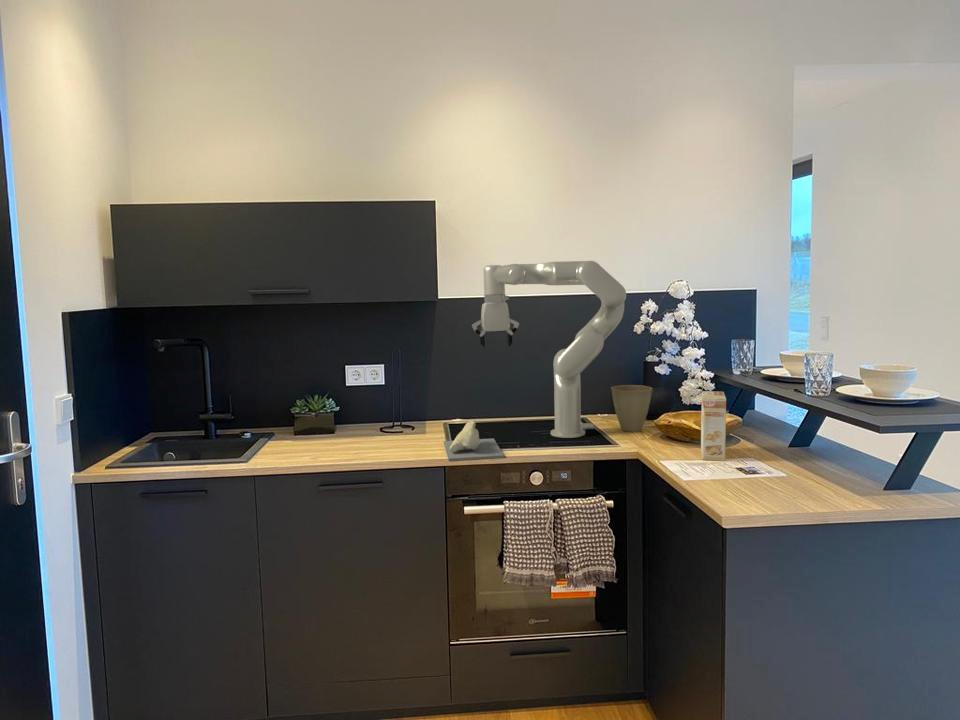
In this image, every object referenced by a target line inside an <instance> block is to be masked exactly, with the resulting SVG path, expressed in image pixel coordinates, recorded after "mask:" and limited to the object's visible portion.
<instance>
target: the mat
mask: <svg viewBox="0 0 960 720" xmlns="http://www.w3.org/2000/svg"><path fill="white" fill-rule="evenodd" d="M479 440H480V442H479V446H478V447H477V448H476V449H475V450H461V451H457V452H455V453H453V452H451V451H450V446H451V444H452V443H453V441H454V440H444V441H443V446H444V448H445V453H446V455H447V456H446V457H447V460H448V461H449V462H453V461H455V462H456V461H457V462H458V461H471V460H473V461H474V460H487V459H488V460H489V459H491V460H493V459H504V458H505V455H504V453H503V451H502V449H501V448H500V446H499V445H498V443H497V442H496V440H495V438H479Z"/></svg>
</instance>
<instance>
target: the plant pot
mask: <svg viewBox="0 0 960 720" xmlns="http://www.w3.org/2000/svg"><path fill="white" fill-rule="evenodd" d="M610 388H611V395H612V401H613V406H614V409H615V410H614V412H615V415H616V419H617V421H618V424H619V426H620V429H621V430H622V431H623V432H629V433H634V432H635V433H637V432H640V431H642V429H643V427H644V424H645V421H646V419H647V415H648V412H649V409H650V404H651V398H652V393H653V387H651V386H647V385H641V384H640V385H638V384H627V385H626V384H625V385H624V384H623V385H622V384H621V385H615V386H611V387H610Z"/></svg>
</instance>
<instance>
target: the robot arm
mask: <svg viewBox="0 0 960 720" xmlns="http://www.w3.org/2000/svg"><path fill="white" fill-rule="evenodd" d="M505 285H512V286H517V285H546V286H585V287H586V288H588V290H590V291H591V292H592V293H593V294H594V295H595V296H596V297H597V298H599V300H600V302H601V305H600V307H599V310H598V311H597V312H596V313H595V315H594V316H593V317H592V318H591V319H590V320H589V321H588V322H587V323H586V324H585V326H584V327H582V328H581V329H580V330H579V331H578V332H577V333H576V334H575V337H574V340H573V341H572V342H571V343H570V344H569V345H568V346H567V348H562V349H560V350H558V351H557V353H556V354H555V355H554V358H553V382H554V383H553V385H554V387H553V388H554V393H553V396H554V397H553V398H554V403H553V404H554V429H551V430H550V436H552V437H555V438H562V439H573V438H580V437H583V436H586V431H585V430H593V429H595V425H594V423H589V422H585V423H583V421H582V419H581V415H582V413H581V411H582V409H581V394H582V393H581V392H582V391H581V387H582V386H581V373H582V372H583V371H584V370H585V369H586V368H587V367H588V366H589V365H590V364H591V362H593V360H595V359H596V357H598V356H599V354H600V353H601V352H602V349H603V348H604V343H605V340H606V339H607V338H608V337H609V336H610V335H611V333H612V332H613V331H614V330H615V329H617V327H618V325H619V324H620V323H621V321H622V319H623V316H624V313H625V301H626V299H627V291H626V289H625V287H624V286H623V285H622V283H620V282H619V281H618V280H617V279H616V278H615V277H613V276H612V275H611V274H610V273H609V272H608V271H607V270H606V269H604V268H603V267H602V266H601V264H599V263H598V262H597V261H594V260H577V261H571V260H569V261H568V260H567V261H564V260H563V261H548V262H542V263H511V264H505V265H500V264H492V265H491V264H490V265H485V266H484V267H483V295H484V296H483V298H484V300H483V301H484V303H482V304H481V312H480V316H481V317H480V320H477V321H476V322H474V323H473V324H471V327H472V329H473V331H474V333H476V335H478V336H479V346H481V348H485V347H486V346H485V345H486V342H485V339H486V338H485V334H486V332H497V331H498V332H499V331H500V332H501V331H503V332H504V331H506V332H507V334H506V335H507V336H506V337H507V339H506V340H507V347H512V344H513V335H514V333H516V332H517V331H518V328H519V326H520V322H518V321H516V320H514V319H511V318H510V311H509V306H508V303H507V302H506V301H508V300H509V299H510V296H509V295H506V286H505ZM511 324H513V327H512V329H510V328H511ZM478 326H480V327H481V328H480V329H481V330H479V329H478Z"/></svg>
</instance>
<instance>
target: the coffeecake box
mask: <svg viewBox="0 0 960 720" xmlns="http://www.w3.org/2000/svg"><path fill="white" fill-rule="evenodd" d="M700 413H701V414H700V415H701V417H700V418H701V419H700V421H701V423H700V451H701V458H702V461H716V462H718V461H719V462H721V461H722V462H725V461H726V440H727V439H726V436H727V435H726V433H727V431H726V430H727V397H726V395H725V392H724V391H718V390H717V391H716V390H715V391H713V390H705V391H704V390H702V391H701V412H700Z"/></svg>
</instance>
